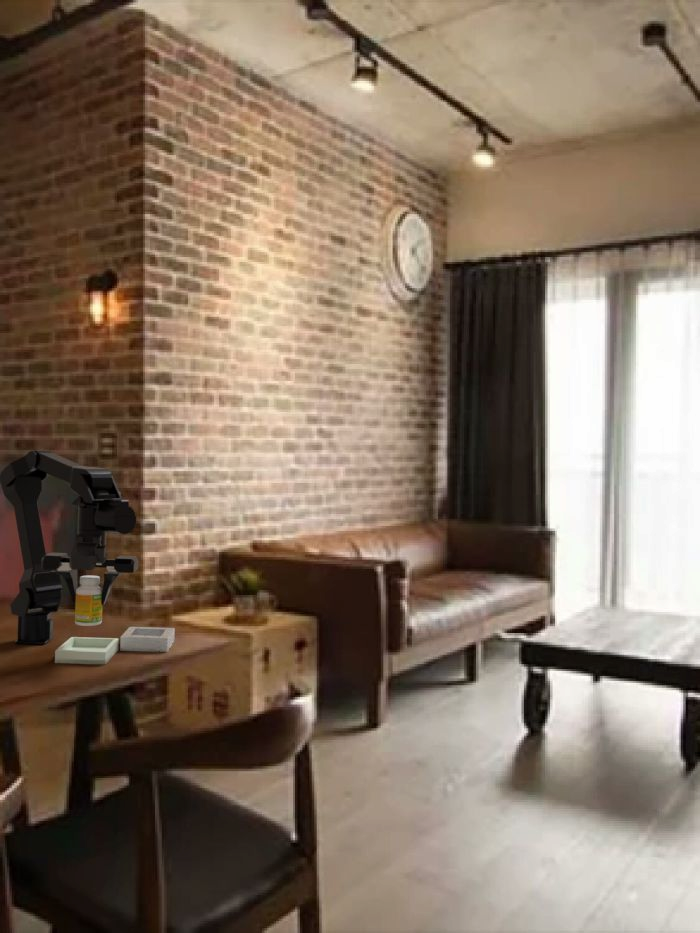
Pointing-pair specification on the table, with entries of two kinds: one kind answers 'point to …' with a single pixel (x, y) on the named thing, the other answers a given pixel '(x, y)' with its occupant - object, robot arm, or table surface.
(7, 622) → the table surface
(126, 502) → the robot arm
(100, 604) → the supplement bottle
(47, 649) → the table surface
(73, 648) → the tray
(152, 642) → the sleeve holder
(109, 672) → the table surface
